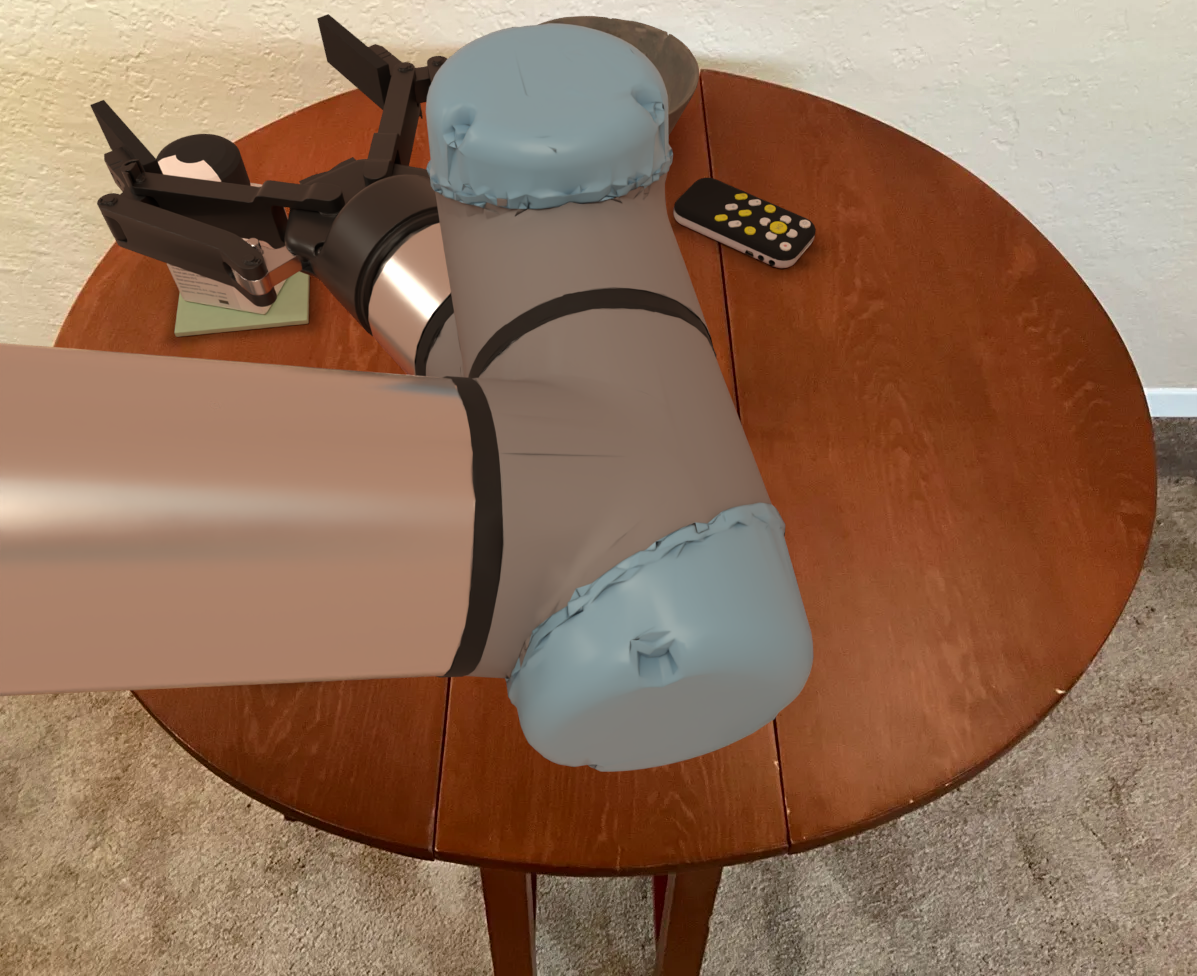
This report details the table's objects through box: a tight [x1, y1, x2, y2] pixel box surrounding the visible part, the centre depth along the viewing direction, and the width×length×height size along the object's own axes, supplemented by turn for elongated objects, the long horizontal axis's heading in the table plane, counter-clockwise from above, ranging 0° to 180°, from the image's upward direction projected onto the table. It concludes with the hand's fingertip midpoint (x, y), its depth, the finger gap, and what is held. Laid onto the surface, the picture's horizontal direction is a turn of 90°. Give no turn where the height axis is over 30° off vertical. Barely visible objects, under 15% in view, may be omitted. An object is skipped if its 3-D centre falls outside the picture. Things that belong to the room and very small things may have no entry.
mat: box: [174, 271, 311, 338], centre depth 85 cm, size 11×11×1 cm
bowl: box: [537, 15, 700, 136], centre depth 91 cm, size 19×19×10 cm
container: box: [155, 133, 288, 314], centre depth 79 cm, size 8×8×13 cm
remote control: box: [673, 177, 816, 269], centre depth 89 cm, size 6×13×2 cm, turn 55°
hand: (222, 79), depth 55 cm, fingers open, 13 cm apart
